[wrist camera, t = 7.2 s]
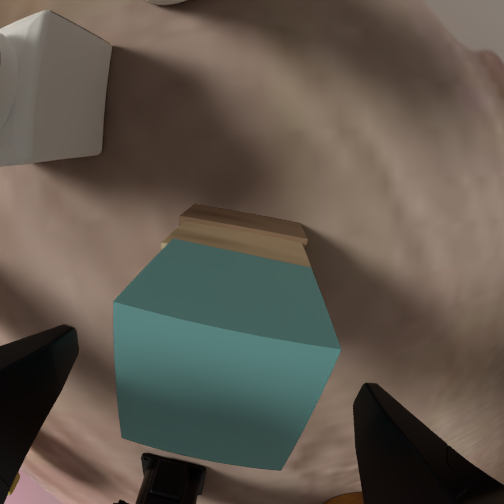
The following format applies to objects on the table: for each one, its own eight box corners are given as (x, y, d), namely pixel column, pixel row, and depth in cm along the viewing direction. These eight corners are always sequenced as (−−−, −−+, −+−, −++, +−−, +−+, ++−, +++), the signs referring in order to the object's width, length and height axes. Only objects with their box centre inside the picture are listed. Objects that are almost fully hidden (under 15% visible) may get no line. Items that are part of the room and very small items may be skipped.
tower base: (278, 314, 20) (280, 346, 16) (184, 297, 20) (169, 325, 16) (300, 222, 18) (308, 238, 14) (195, 203, 18) (179, 215, 14)
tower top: (276, 341, 16) (279, 385, 13) (174, 322, 16) (155, 361, 13) (301, 242, 15) (312, 270, 11) (184, 221, 14) (161, 242, 11)
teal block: (277, 374, 13) (280, 470, 8) (161, 350, 13) (121, 437, 8) (311, 267, 11) (341, 349, 6) (173, 238, 11) (113, 301, 6)
